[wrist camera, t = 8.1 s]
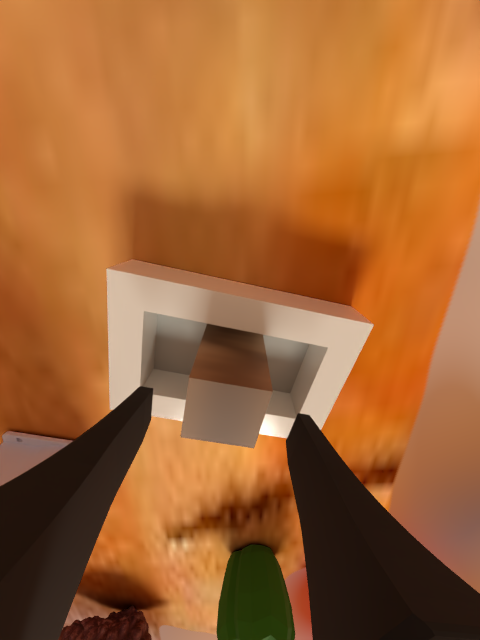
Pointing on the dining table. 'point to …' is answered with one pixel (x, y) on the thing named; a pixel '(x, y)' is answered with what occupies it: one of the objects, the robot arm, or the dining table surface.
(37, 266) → the dining table surface
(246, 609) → the bell pepper
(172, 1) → the dining table surface
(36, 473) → the robot arm
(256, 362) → the bracket block
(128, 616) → the pine cone
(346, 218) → the dining table surface
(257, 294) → the well trough
